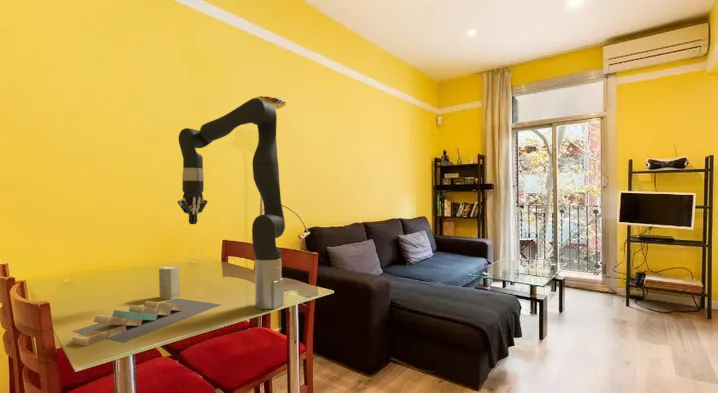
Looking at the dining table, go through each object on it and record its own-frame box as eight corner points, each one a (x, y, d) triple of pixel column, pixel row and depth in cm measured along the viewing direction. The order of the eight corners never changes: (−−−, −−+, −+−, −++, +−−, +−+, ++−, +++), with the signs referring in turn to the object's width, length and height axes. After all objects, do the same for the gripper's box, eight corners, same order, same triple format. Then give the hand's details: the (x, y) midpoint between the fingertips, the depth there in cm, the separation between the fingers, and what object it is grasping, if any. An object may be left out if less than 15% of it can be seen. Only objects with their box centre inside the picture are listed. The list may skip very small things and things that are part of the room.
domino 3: (155, 320, 111) (123, 318, 101) (144, 318, 113) (112, 316, 103) (157, 314, 111) (125, 311, 102) (146, 312, 113) (114, 309, 104)
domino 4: (160, 308, 118) (130, 305, 108) (171, 309, 116) (142, 306, 106) (158, 313, 117) (128, 311, 108) (169, 315, 115) (140, 313, 106)
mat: (221, 305, 127) (221, 304, 127) (123, 344, 94) (123, 342, 94) (176, 299, 135) (176, 298, 135) (72, 332, 102) (72, 331, 102)
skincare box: (180, 297, 138) (180, 266, 138) (170, 300, 134) (170, 268, 134) (167, 296, 140) (168, 265, 140) (158, 299, 136) (158, 267, 136)
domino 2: (131, 317, 108) (96, 315, 99) (142, 319, 107) (107, 317, 97) (129, 323, 108) (93, 321, 98) (140, 325, 106) (105, 324, 96)
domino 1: (114, 322, 104) (72, 336, 93) (125, 325, 102) (84, 339, 92) (114, 329, 104) (72, 343, 93) (125, 331, 102) (84, 346, 92)
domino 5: (173, 303, 123) (145, 300, 113) (183, 305, 121) (156, 302, 111) (171, 309, 122) (143, 306, 112) (182, 310, 120) (155, 308, 111)
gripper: (186, 179, 130) (186, 225, 130) (213, 180, 143) (213, 223, 142) (171, 179, 133) (171, 225, 133) (199, 181, 145) (199, 222, 145)
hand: (193, 224), depth 138 cm, fingers closed
